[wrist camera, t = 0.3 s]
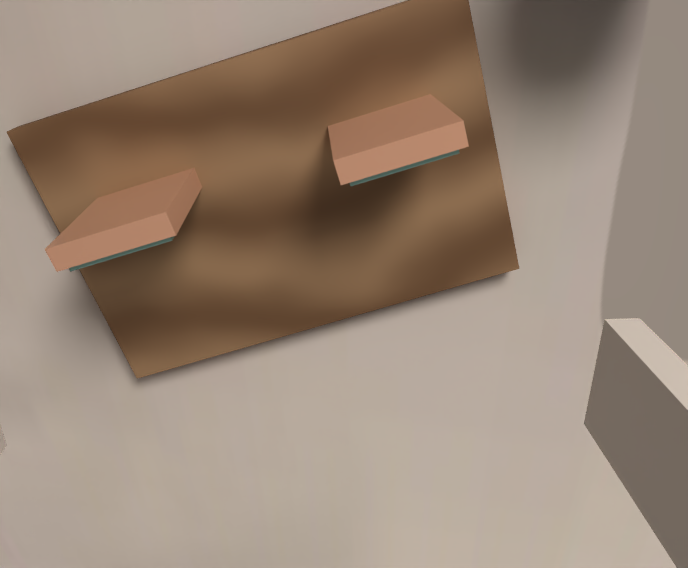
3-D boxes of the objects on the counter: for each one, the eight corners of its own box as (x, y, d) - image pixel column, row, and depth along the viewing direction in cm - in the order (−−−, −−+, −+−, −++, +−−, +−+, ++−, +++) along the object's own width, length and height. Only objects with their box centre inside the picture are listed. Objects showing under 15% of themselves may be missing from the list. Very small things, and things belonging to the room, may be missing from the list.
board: (17, 126, 36) (6, 131, 34) (458, -17, 34) (465, -17, 32) (142, 366, 43) (136, 378, 41) (512, 259, 41) (519, 268, 40)
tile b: (327, 126, 35) (333, 160, 28) (430, 94, 35) (463, 120, 27) (335, 151, 36) (342, 191, 28) (436, 120, 35) (470, 152, 28)
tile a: (96, 198, 36) (44, 249, 29) (194, 167, 36) (165, 211, 28) (108, 221, 37) (59, 277, 29) (204, 192, 36) (178, 241, 29)
